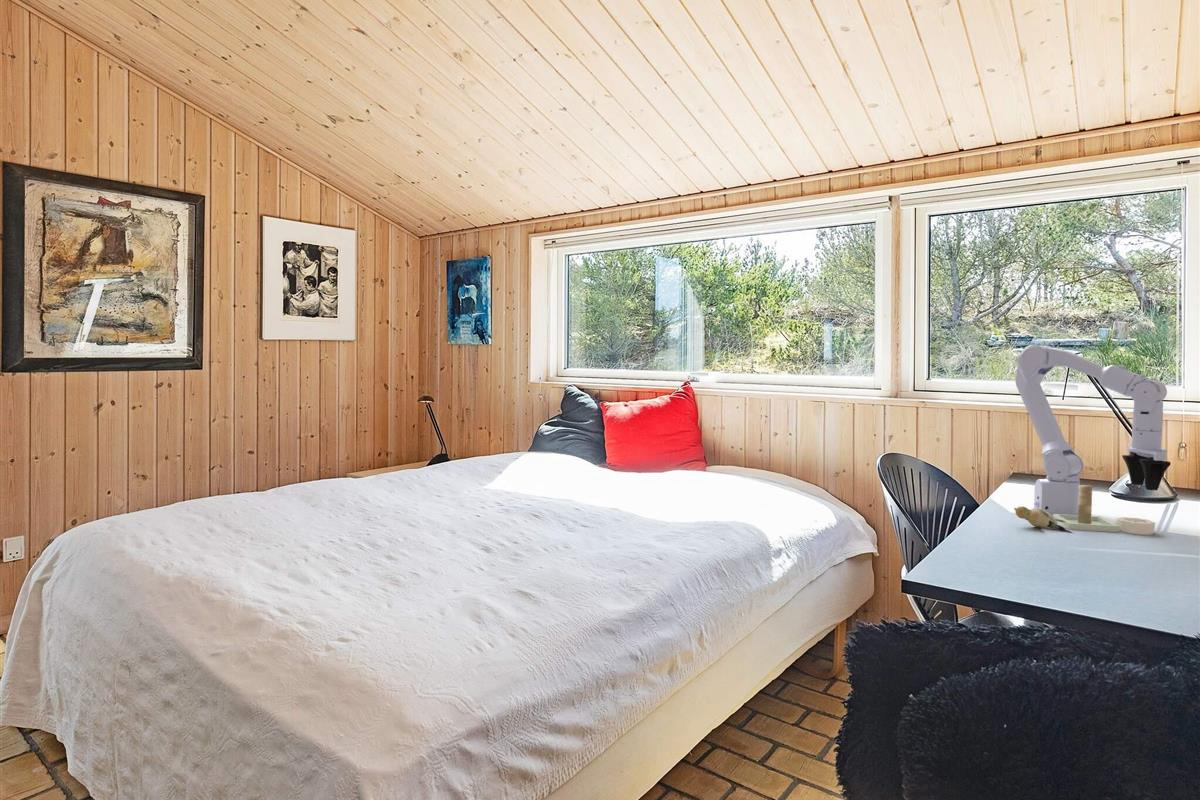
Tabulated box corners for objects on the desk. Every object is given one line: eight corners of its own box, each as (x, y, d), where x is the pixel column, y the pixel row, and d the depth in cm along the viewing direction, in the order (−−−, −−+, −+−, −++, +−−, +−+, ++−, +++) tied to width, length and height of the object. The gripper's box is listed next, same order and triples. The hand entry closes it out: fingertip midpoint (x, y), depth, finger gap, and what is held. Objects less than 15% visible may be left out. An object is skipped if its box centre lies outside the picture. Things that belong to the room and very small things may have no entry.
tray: (1068, 531, 168) (1069, 523, 168) (1052, 521, 179) (1053, 513, 179) (1118, 534, 166) (1119, 526, 166) (1099, 523, 176) (1099, 516, 176)
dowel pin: (1080, 524, 171) (1081, 486, 171) (1076, 522, 174) (1077, 485, 173) (1092, 525, 171) (1094, 487, 170) (1088, 523, 173) (1089, 485, 173)
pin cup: (1125, 535, 164) (1125, 522, 164) (1113, 529, 171) (1113, 516, 170) (1158, 537, 163) (1158, 524, 163) (1144, 531, 169) (1145, 518, 169)
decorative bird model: (1050, 509, 176) (1013, 498, 175) (1089, 529, 164) (1049, 518, 162) (1043, 525, 177) (1006, 515, 176) (1081, 546, 164) (1042, 535, 163)
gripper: (1182, 433, 165) (1179, 493, 166) (1152, 428, 179) (1149, 483, 180) (1146, 432, 167) (1143, 491, 167) (1119, 427, 181) (1116, 481, 181)
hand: (1144, 487), depth 174 cm, fingers open, 7 cm apart
